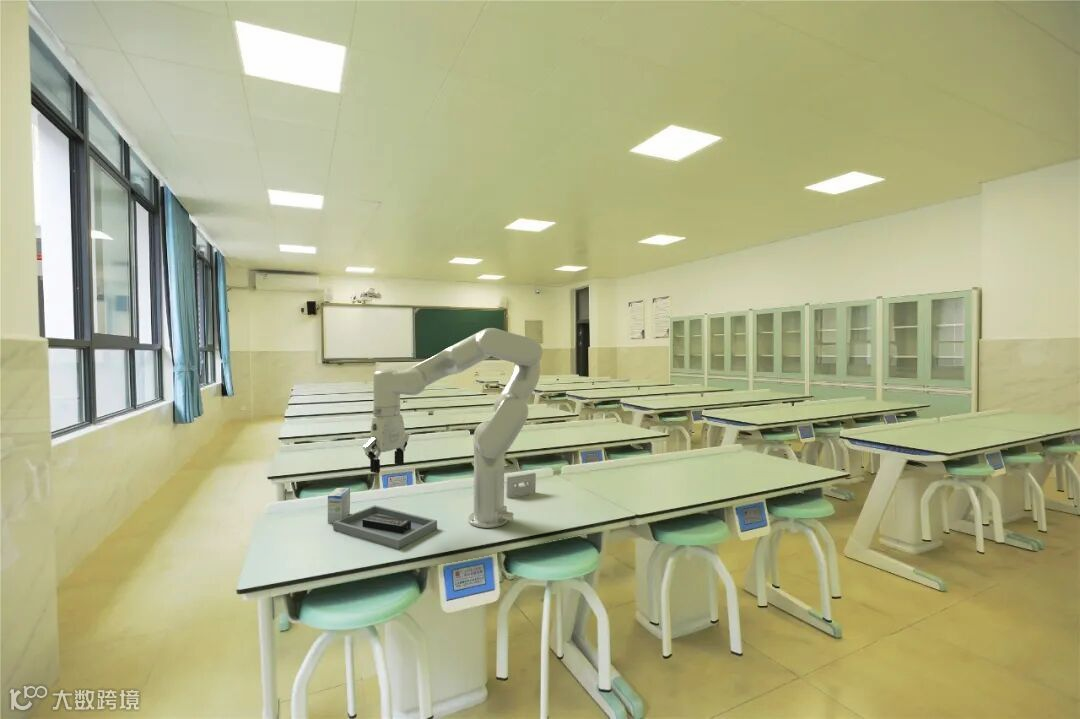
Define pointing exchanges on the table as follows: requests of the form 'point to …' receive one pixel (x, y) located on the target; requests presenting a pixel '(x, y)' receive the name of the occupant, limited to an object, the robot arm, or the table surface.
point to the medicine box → (338, 504)
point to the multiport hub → (386, 523)
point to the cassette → (515, 489)
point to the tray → (391, 539)
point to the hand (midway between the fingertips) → (387, 468)
